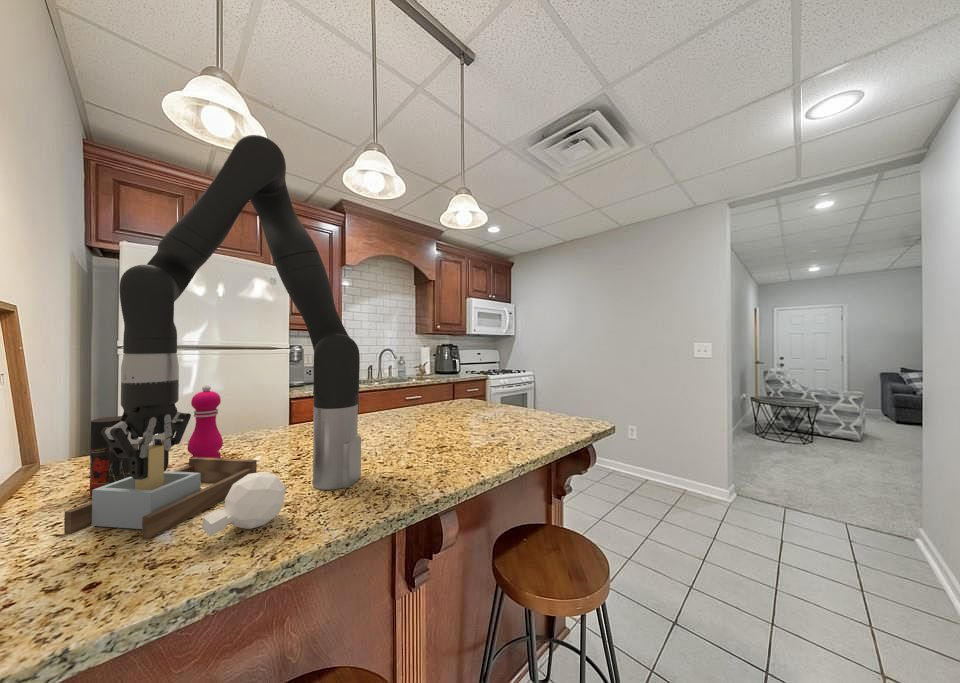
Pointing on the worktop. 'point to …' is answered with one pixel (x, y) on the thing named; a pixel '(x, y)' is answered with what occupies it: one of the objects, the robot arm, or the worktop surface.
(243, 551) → the worktop surface
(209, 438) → the pepper mill
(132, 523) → the box
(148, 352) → the robot arm
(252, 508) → the perfume bottle
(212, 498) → the bay
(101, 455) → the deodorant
